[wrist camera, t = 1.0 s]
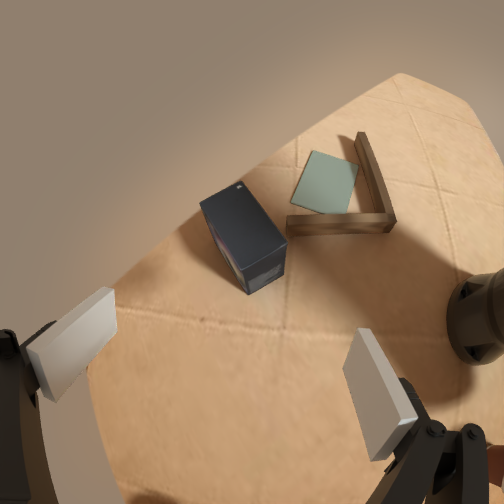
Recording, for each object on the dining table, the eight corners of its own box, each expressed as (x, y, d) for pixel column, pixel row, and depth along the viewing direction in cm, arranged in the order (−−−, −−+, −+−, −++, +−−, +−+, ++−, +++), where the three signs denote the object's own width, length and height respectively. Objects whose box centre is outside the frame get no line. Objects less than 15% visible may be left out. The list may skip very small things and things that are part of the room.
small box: (211, 240, 43) (195, 201, 33) (247, 220, 44) (242, 177, 34) (246, 297, 39) (238, 271, 29) (285, 274, 40) (290, 240, 30)
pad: (358, 166, 47) (358, 165, 47) (343, 221, 43) (343, 220, 43) (313, 151, 49) (313, 150, 49) (290, 203, 45) (290, 202, 44)
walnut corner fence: (360, 144, 50) (364, 132, 47) (389, 232, 42) (396, 221, 38) (276, 143, 51) (276, 130, 47) (286, 236, 42) (287, 224, 39)
